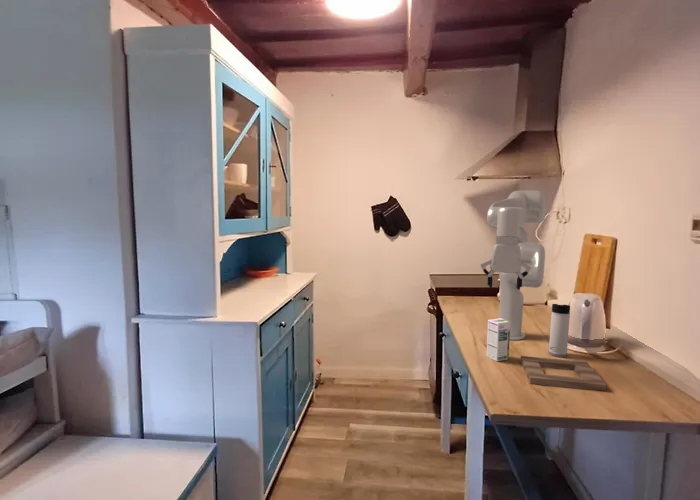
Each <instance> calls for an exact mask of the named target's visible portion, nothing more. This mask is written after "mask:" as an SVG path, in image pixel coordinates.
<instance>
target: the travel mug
mask: <svg viewBox="0 0 700 500" xmlns="http://www.w3.org/2000/svg"><path fill="white" fill-rule="evenodd" d="M551 306H552V307H551V317H550V330H549V331H550V332H549V345H548V354H549V355H550V356H552V357H556V358H566V357H567V355H568V346H569V345H568V344H569V343H568V342H569V332H570V331H569V330H570V320H571V319H570V318H571V315H570V314H571V305H569V304H558V303H552V304H551Z"/></svg>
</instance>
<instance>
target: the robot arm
mask: <svg viewBox="0 0 700 500" xmlns="http://www.w3.org/2000/svg"><path fill="white" fill-rule="evenodd" d="M546 211H547V208H546V197H545V195H544V193H543V192H542V191H540V190H526V189H525V190H524V189H523V190H514V191H512V192H510V194H509V195H508V197H507V198H506V199H501V200H498V201H495V202H493V203H492V204H490V207H489V208H488V210H487V213H486V221H487V224H488V225H489V226H491V227H496V236H495V244H493V246H492V250H491V256H490V260H487V261H485V262H482V263H481V264H480V267H481V270H482V272H483V273H484V274H485V275H486V276H487V283H486V284H487V286H488V288H490V289H492V288H493V275H494V274H495V273H498V276H499V277H498V279H499V287H500V290H499V313H498V318H501V319H505V320H507V321H509V322H510V340H511V341H516V340H517V341H521V340H523V339H526V333H525V332H522V330H523V328H522V327H523V314H524V294H523V293H522V290H521V288H522V287H525V288H533V289H537V288H540V287H541V286H542V284H543V282H544V276H545V275H544V273H545V261H546V250H545V246H544V245H543V244H542V243H537V242H528V241H529V233H528V232H527V230H526V229H525V228H524V226H525V225H526V224H540V223H543V222H544V220H545V218H546V216H547V213H546ZM489 265H490V267H489V268H490V270H487V266H489Z"/></svg>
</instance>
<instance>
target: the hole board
mask: <svg viewBox="0 0 700 500" xmlns="http://www.w3.org/2000/svg"><path fill="white" fill-rule="evenodd" d="M520 364H521V365H522V368H523V370H524V372H525V375H526V378H527V380H528V382H529V384H532V385H533V384H534V385H543V386H553V387H561V388H563V387H564V388H571V389H573V388H574V389H582V390H590V391H601V392H602V391H603V392H606V391H607V384H606V383H605V382H604V381H603V379H602V377H600V375H599V374H598V373H597V372H596V371H595V369H594V368H592V366H591V365H590V364H589V362H588V361H582V360H581V361H580V360H573V359H572V360H571V359H561V358H559V359H558V358H550V357H548V358H547V357H537V356H527V355H526V356H525V355H520ZM542 368H547V369H548V368H549V369H559V370H560V369H561V370H571V371H574V373H576V375H577V376H578V377H577V376H566V375H559V374H558V375H556V374H545V372H544V370H543V369H542Z"/></svg>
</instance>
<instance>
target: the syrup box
mask: <svg viewBox="0 0 700 500" xmlns="http://www.w3.org/2000/svg"><path fill="white" fill-rule="evenodd" d="M486 334H487V338H486V357H487V358H489V359H491V360H493V361H494V362H501V361H508V360H509V359H510V357H509V356H510V322H509V321H507V320H505V319H501V318H499V317H498V318H494V319H493V318H492V319H487V333H486Z"/></svg>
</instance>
